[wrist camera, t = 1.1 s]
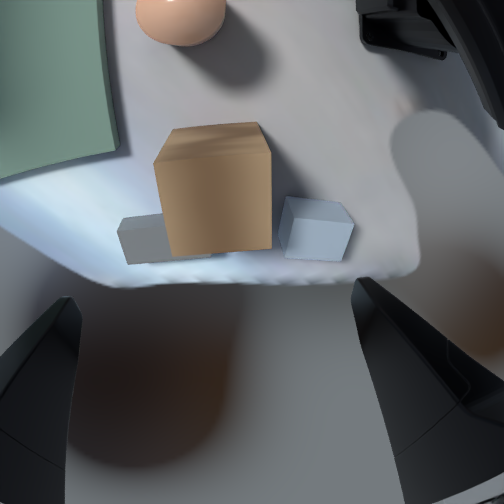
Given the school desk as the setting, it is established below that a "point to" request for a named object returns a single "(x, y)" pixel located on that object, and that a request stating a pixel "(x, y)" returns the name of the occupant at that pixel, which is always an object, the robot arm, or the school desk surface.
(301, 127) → the school desk surface
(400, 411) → the robot arm
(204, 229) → the walnut block
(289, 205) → the eraser block
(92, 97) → the mat
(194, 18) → the peach rounded cylinder
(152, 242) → the gray rectangular block
